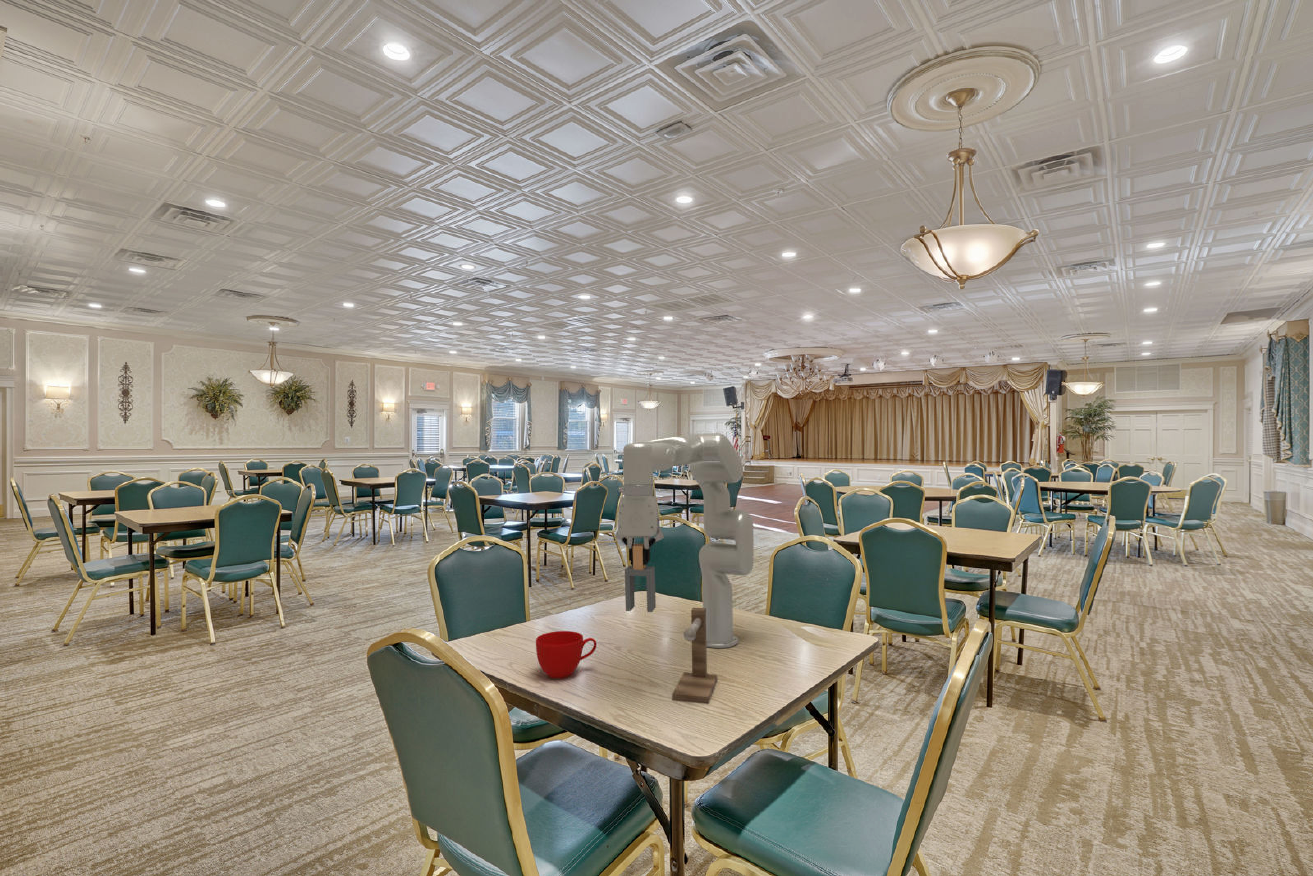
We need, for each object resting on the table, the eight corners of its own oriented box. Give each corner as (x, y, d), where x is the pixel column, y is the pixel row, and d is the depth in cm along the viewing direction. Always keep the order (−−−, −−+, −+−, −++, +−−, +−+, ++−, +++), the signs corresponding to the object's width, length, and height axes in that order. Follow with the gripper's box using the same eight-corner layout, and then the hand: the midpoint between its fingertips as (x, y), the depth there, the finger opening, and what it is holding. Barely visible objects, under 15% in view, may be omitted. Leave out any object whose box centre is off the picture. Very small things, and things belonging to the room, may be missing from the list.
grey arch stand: (625, 610, 149) (623, 546, 148) (630, 606, 153) (628, 542, 152) (651, 612, 147) (650, 546, 147) (655, 607, 151) (653, 543, 151)
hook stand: (684, 677, 159) (683, 606, 160) (717, 680, 157) (716, 608, 157) (671, 701, 144) (670, 623, 144) (708, 704, 141) (706, 625, 142)
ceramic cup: (602, 677, 160) (602, 640, 160) (539, 686, 154) (539, 647, 155) (591, 661, 172) (591, 627, 173) (532, 669, 167) (532, 634, 167)
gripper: (603, 492, 149) (604, 565, 148) (666, 492, 145) (667, 567, 144) (613, 490, 156) (614, 560, 155) (672, 490, 152) (673, 562, 151)
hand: (639, 563), depth 150 cm, fingers closed on grey arch stand, 2 cm apart
